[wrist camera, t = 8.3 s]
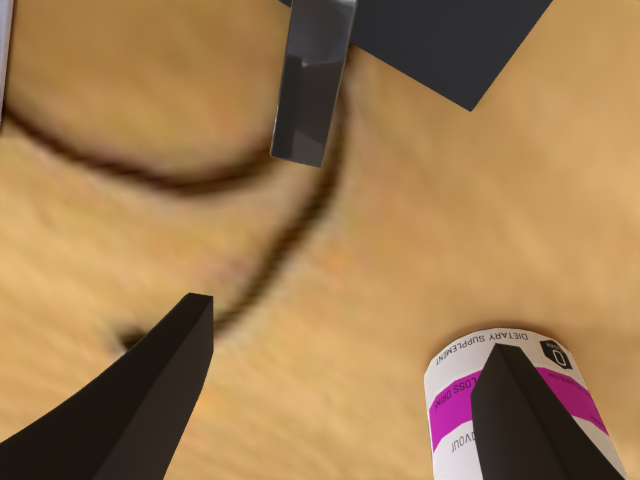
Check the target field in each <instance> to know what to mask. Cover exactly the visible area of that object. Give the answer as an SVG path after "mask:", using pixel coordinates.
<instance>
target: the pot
mask: <svg viewBox="0 0 640 480" xmlns="http://www.w3.org/2000/svg"><path fill="white" fill-rule="evenodd" d="M358 3H359V0H292V6H291V13H290V20H289V27H288V34H287V40H286V47H285V54H284V61H283V67H282V74H281V81H280V88H279V94H278V101H277V108H276V115H275V122H274V128H273V135H272V142H271V149H270V156H271V157H274V158H278V159H283V160H287V161H291V162H296V163H300V164H305V165H309V166H313V167H318V168H321V167H322V165H323V161H324V156H325V152H326V147H327V143H328V138H329V134H330V129H331V125H332V120H333V116H334V111H335V107H336V102H337V98H338V93H339V88H340V84H341V79H342V75H343V70H344V66H345V61H346V57H347V52H348V48H349V43H350V39H351V34H352V30H353V25H354V21H355V16H356V12H357V7H358Z"/></svg>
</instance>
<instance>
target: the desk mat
mask: <svg viewBox="0 0 640 480" xmlns="http://www.w3.org/2000/svg"><path fill="white" fill-rule="evenodd" d="M279 1H281V2H282V3H284V4H286V5H287V6H289V7H291V6H292V0H279ZM552 1H553V0H359V3H358V7H357V12H356V16H355V21H354V25H353V30H352V34H351V39H350V42H351V43H353V44H355V45H356V46H358V47H360V48H362V49H363V50H365V51H367V52H368V53H370V54H372V55H374V56H375V57H377V58H379V59H380V60H382V61H384V62H386V63H387V64H389V65H391V66H393V67H394V68H396V69H398V70H399V71H401V72H403V73H405V74H406V75H408V76H410V77H411V78H413V79H415V80H417V81H418V82H420V83H422V84H424V85H425V86H427V87H429V88H430V89H432V90H434V91H436V92H437V93H439V94H441V95H443V96H444V97H446V98H448V99H449V100H451V101H453V102H455V103H456V104H458V105H460V106H461V107H463V108H465V109H467V110H468V111H470V112H471V111H472V110H473V108H474V107H475V106H476V104H477V103H478V102H479V100H480V99H481V98H482V96H483V95H484V93H485V92H486V91H487V89H488V88H489V87H490V85H491V84H492V83H493V81H494V80H495V78H496V77H497V76H498V74H499V73H500V72H501V70H502V69H503V67H504V66H505V65H506V63H507V62H508V61H509V59H510V58H511V57H512V55H513V54H514V52H515V51H516V50H517V48H518V47H519V46H520V44H521V43H522V42H523V40H524V39H525V37H526V36H527V35H528V33H529V32H530V31H531V29H532V28H533V27H534V25H535V24H536V22H537V21H538V20H539V18H540V17H541V16H542V14H543V13H544V11H545V10H546V9H547V7H548V6H549V5H550V3H551V2H552Z"/></svg>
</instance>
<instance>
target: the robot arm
mask: <svg viewBox="0 0 640 480" xmlns="http://www.w3.org/2000/svg"><path fill="white" fill-rule="evenodd" d="M13 2H14V0H0V124H1V114H2V105H3V96H4V86H5V77H6V68H7V58H8V49H9V40H10V30H11V21H12V12H13ZM212 355H213V296H207V295H201V294H195V293H188V294H187V295H185V296H184V297H183V298H182V299H181V300H180V301H179V303H178V304H177V305H176V306H175V307H174V308H173V309H172V310H171V311H170V312H169V313H168V314H167V315H166V316H165V317H164V318H163V319H162V320H161V321H160V322H159V323H158V324H157V325H156V326H155V327H154V328H152V329H151V330H150V331H149V332H148V333H147V334H146V335H145V336H144V337H143V338H142V339H141V340H140V341H138V342H137V343H136V344H135V345H134V346H133V347H132V348H131V349H130V350H129V351H127V352H126V353H125V354H124V355H123V356H122V357H120V358H119V359H118V360H117V361H116V362H114V363H113V364H112V365H111V366H110V367H108V368H107V369H106V370H105V371H104V372H102V373H101V374H100V375H99V376H98V377H96V378H95V379H94V380H92V381H91V382H90V383H89V384H87V385H86V386H85V387H83V388H82V389H81V390H79V391H78V392H77V393H75V394H74V395H73V396H71V397H70V398H68V399H67V400H66V401H64V402H63V403H61V404H60V405H59V406H57V407H56V408H54V409H53V410H51V411H50V412H48V413H47V414H45V415H44V416H42V417H41V418H39V419H38V420H36V421H35V422H33V423H32V424H30V425H29V426H27V427H26V428H24V429H22V430H21V431H19V432H18V433H16V434H14V435H13V436H11V437H10V438H8V439H6V440H5V441H3V442H1V443H0V480H163V478H164V476H165V473H166V471H167V468H168V466H169V464H170V462H171V459H172V457H173V455H174V452H175V450H176V448H177V446H178V443H179V441H180V439H181V436H182V434H183V432H184V430H185V427H186V425H187V423H188V420H189V418H190V416H191V414H192V411H193V409H194V407H195V404H196V402H197V400H198V397H199V395H200V393H201V390H202V388H203V385H204V381H205V378H206V375H207V372H208V368H209V365H210V362H211V358H212ZM470 397H471V412H472V423H473V433H474V439H475V444H476V449H477V453H478V458H479V463H480V468H481V472H482V477H483V480H625V479H624V478H623V477H622V475H621V474H620V473H619V472H618V471H617V470H616V469H615V468H614V467H613V465H612V464H611V463H610V462H609V461H608V460H607V458H606V457H605V456H604V455H603V454H602V453H601V451H600V450H599V449H598V448H597V447H596V445H595V444H594V443H593V442H592V441H591V440H590V438H589V437H588V436H587V435H586V433H585V432H584V431H583V430H582V428H581V427H580V426H579V425H578V423H577V422H576V421H575V420H574V418H573V417H572V416H571V415H570V413H569V412H568V411H567V409H566V408H565V407H564V405H563V404H562V403H561V402H560V400H559V399H558V398H557V396H556V395H555V394H554V392H553V391H552V390H551V388H550V387H549V386H548V384H547V383H546V381H545V380H544V379H543V377H542V376H541V375H540V373H539V372H538V371H537V369H536V368H535V367H534V365H533V364H532V362H531V361H530V360H529V358H528V357H527V356H526V354H525V353H524V352H523V350H522V349H521V348H520V347H519V346H513V345H506V344H500V343H495V345H494V347H493V349H492V351H491V353H490V355H489V357H488V359H487V361H486V363H485V365H484V367H483V369H482V371H481V373H480V375H479V377H478V379H477V381H476V384H475V386H474V388H473V390H472V392H471V394H470Z"/></svg>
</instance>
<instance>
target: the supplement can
mask: <svg viewBox="0 0 640 480" xmlns="http://www.w3.org/2000/svg"><path fill="white" fill-rule="evenodd" d="M495 343H500V344H506V345H513V346H519V347H520V348H521V349H522V350H523V352H524V353H525V354H526V356H527V357H528V358H529V360H530V361H531V362H532V364H533V365H534V367H535V368H536V369H537V371H538V372H539V373H540V375H541V376H542V377H543V379H544V380H545V381H546V383H547V384H548V386H549V387H550V388H551V390H552V391H553V392H554V394H555V395H556V396H557V398H558V399H559V400H560V402H561V403H562V404H563V405H564V407H565V408H566V409H567V411H568V412H569V413H570V415H571V416H572V417H573V418H574V420H575V421H576V422H577V423H578V425H579V426H580V427H581V428H582V430H583V431H584V432H585V433H586V435H587V436H588V437H589V438H590V440H591V441H592V442H593V443H594V444H595V445H596V447H597V448H598V449H599V450H600V451H601V453H602V454H603V455H604V456H605V457H606V458H607V460H608V461H609V462H610V463H611V464H612V465H613V467H614V468H615V469H616V470H617V471H618V472H619V473H620V474H621V475H622V477H623V478H624V479H625V480H629V478H628V476H627V474H626V472H625V470H624V467H623V465H622V463H621V461H620V459H619V456H618V454H617V452H616V450H615V448H614V445H613V443H612V441H611V439H610V437H609V434H608V432H607V430H606V428H605V426H604V423H603V421H602V419H601V417H600V415H599V412H598V410H597V408H596V406H595V404H594V401H593V399H592V397H591V395H590V393H589V390H588V388H587V386H586V384H585V382H584V380H583V377H582V375H581V373H580V371H579V369H578V366H577V364H576V362H575V360H574V358H573V355H572V354H571V353H570V352H569V351H568V350H567V349H565V348H564V347H563V346H562V345H561V344H559V343H558V342H557V341H556V340H554V339H551V338H548V337H546V336H543V335H540V334H537V333H534V332H532V331H525V330H522V329H510V328H493V329H488V330H482V331H476V332H473V333H471V334H468V335H466V336H464V337H462V338H459V339H457V340H455V341H453V342H452V343H451V344H449V345H448V346H447V347H445V348H444V349H443V350H442V351H441V352H440V353H439V354H438V355H436V356H435V357H434V358H433V359H432V360H431V362H430V364H429V367H428V369H427V371H426V373H425V375H424V385H425V397H426V407H427V416H428V426H429V435H430V445H431V455H432V464H433V474H434V480H483V477H482V472H481V468H480V463H479V458H478V453H477V449H476V444H475V439H474V433H473V423H472V412H471V397H470V394H471V392H472V390H473V388H474V386H475V384H476V381H477V379H478V377H479V375H480V373H481V371H482V369H483V367H484V365H485V363H486V361H487V359H488V357H489V355H490V353H491V351H492V349H493V347H494V345H495Z"/></svg>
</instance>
